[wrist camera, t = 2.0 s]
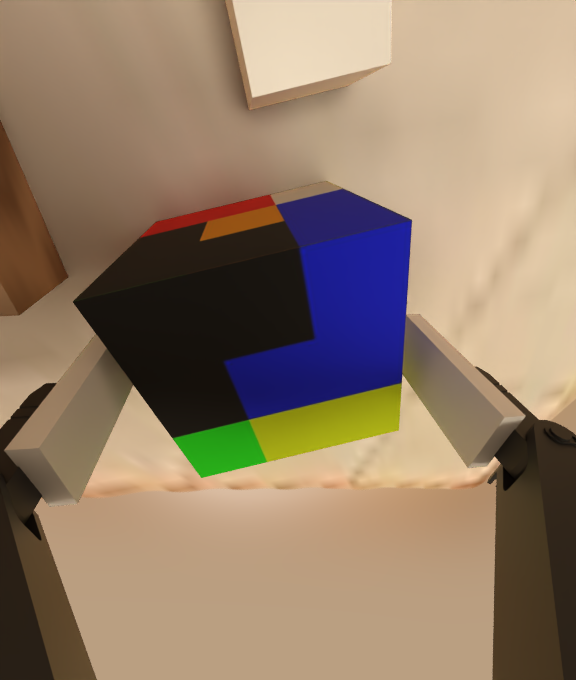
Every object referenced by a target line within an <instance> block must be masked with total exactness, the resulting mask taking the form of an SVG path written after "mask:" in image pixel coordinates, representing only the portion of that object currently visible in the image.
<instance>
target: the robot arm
mask: <svg viewBox="0 0 576 680" xmlns="http://www.w3.org/2000/svg"><path fill="white" fill-rule="evenodd" d="M402 374H403V375H404V377H405V378H406V380H407V381H408V383H409V384H410V385H411V387H412V388H413V390H414V391H415V393H416V394H417V395H418V397H419V398H420V400H421V401H422V403H423V404H424V406H425V407H426V408H427V410H428V411H429V413H430V414H431V416H432V417H433V418H434V420H435V421H436V423H437V424H438V426H439V427H440V429H441V430H442V431H443V433H444V434H445V436H446V437H447V439H448V440H449V441H450V443H451V444H452V446H453V447H454V449H455V450H456V451H457V453H458V454H459V456H460V457H461V459H462V460H463V462H464V463H465V464H466V466H467V467H468V468H474V467H485V466H487V465H488V464H489V463H490V461H491V460H492V459H493V458H494V456H495V457H496V458H497V459H498V461H499V462H500V463H501V464H500V465H499V467H498V468H497V469H496V470H495V472H494V473H493V474H492V475H491V476H490V478H489V479H488V483H489V484H491V483H492V482H493V481H494V480H495V479H497V485H496V490H497V491H496V535H495V586H494V633H493V680H576V435H575V434H574V433H573V432H571V431H570V430H568V429H567V428H565V427H563V426H561V425H559V424H557V423H554V422H551V421H548V420H538V419H537V418H536V417H535V416H534V415H533V414H532V413H531V412H530V411H529V410H528V409H527V408H525V407H524V406H523V405H522V404H521V403H520V402H519V401H518V400H517V399H516V398H515V397H514V396H513V395H511V394H510V393H508V392H507V390H506V389H505V388H504V387H503V386H502V385H499V382H497V381H496V380H495V379H494V378H493V377H492V376H491V375H490V374H488V373H487V372H485V371H483V370H482V369H480V368H478V367H474V366H473V365H472V364H471V363H470V362H469V361H468V360H467V359H466V358H465V357H464V356H463V355H462V354H461V353H460V352H458V351H457V350H456V349H455V348H454V347H453V346H452V345H451V344H450V343H449V342H448V341H447V340H446V339H445V338H444V337H443V336H442V335H441V334H440V333H439V332H438V331H437V330H435V329H434V328H433V327H432V326H431V325H430V324H429V323H428V322H427V321H426V320H425V319H424V318H423V317H422V316H421V315H420V314H409V315H406V322H405V338H404V354H403V370H402ZM132 386H133V384H132V382H131V381H130V379H129V378H128V377H127V375H126V374H125V373H124V371H123V370H122V369H121V367H120V366H119V364H118V363H117V362H116V360H115V359H114V358H113V356H112V355H111V353H110V352H109V351H108V349H107V348H106V347H105V345H104V344H103V343H102V341H101V340H100V338H99V337H98V336H97V334H96V335H95V336H94V337H93V338H92V340H91V341H90V342H89V343H88V345H87V346H86V347H85V348H84V350H83V351H82V352H81V354H80V355H79V356H78V357H77V359H76V360H75V361H74V362H73V364H72V365H71V366H70V367H69V369H68V370H67V371H66V373H65V374H64V375H63V376H62V378H61V379H60V380H59V381H58V383H46V384H44V385H43V386H42V387H40V388H39V389H37V390H36V391H34V392H33V393H31V394H30V395H29V396H28V398H27V399H26V400H25V401H24V402H23V403H22V404H21V406H20V409H17V410H16V411H15V413H14V414H13V415H12V416H11V419H10V420H8V421H7V422H6V423H5V424H4V425H3V427H2V428H1V429H0V680H97V679H96V676H95V673H94V671H93V668H92V665H91V662H90V660H89V657H88V654H87V651H86V648H85V645H84V643H83V640H82V637H81V634H80V631H79V629H78V626H77V623H76V620H75V617H74V615H73V612H72V609H71V606H70V604H69V601H68V598H67V595H66V592H65V590H64V587H63V584H62V581H61V578H60V575H59V573H58V570H57V567H56V564H55V561H54V559H53V556H52V553H51V550H50V547H49V544H48V542H47V539H46V536H45V533H44V530H43V528H42V525H41V522H40V519H39V516H38V515H37V513H36V512H35V511H34V509H35V507H36V505H37V504H38V502H39V500H40V498H41V497H42V498H43V499H44V500H45V502H46V503H47V504H48V505H49V506H50V507H52V506H63V505H74V504H78V502H79V500H80V498H81V496H82V494H83V492H84V490H85V487H86V485H87V483H88V481H89V479H90V477H91V475H92V472H93V470H94V468H95V466H96V464H97V462H98V459H99V457H100V455H101V453H102V451H103V449H104V447H105V444H106V442H107V440H108V438H109V436H110V434H111V432H112V429H113V427H114V425H115V423H116V421H117V419H118V416H119V414H120V412H121V410H122V408H123V406H124V404H125V401H126V399H127V397H128V395H129V393H130V391H131V388H132Z"/></svg>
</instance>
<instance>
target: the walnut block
mask: <svg viewBox="0 0 576 680" xmlns="http://www.w3.org/2000/svg"><path fill="white" fill-rule="evenodd" d="M66 278H68V276H67V273H66V271H65V269H64V266H63V264H62V262H61V259H60V257H59V255H58V252H57V250H56V248H55V245H54V243H53V241H52V239H51V236H50V234H49V232H48V229H47V227H46V225H45V222H44V220H43V218H42V215H41V213H40V211H39V208H38V206H37V204H36V202H35V199H34V197H33V195H32V192H31V190H30V188H29V185H28V183H27V181H26V178H25V176H24V174H23V171H22V169H21V167H20V165H19V162H18V160H17V158H16V155H15V153H14V151H13V148H12V146H11V144H10V141H9V139H8V137H7V135H6V132H5V130H4V128H3V125H2V123H1V121H0V316H12V315H20V314H21V313H23V312H24V311H25V310H27V309H28V308H29V307H30V306H32V305H33V304H34V303H36V302H37V301H38V300H39V299H41V298H42V297H43V296H45V295H46V294H47V293H48V292H50V291H51V290H52V289H54V288H55V287H56V286H57V285H59V284H60V283H61V282H63V281H64V280H65V279H66Z"/></svg>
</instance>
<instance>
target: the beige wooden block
mask: <svg viewBox="0 0 576 680" xmlns="http://www.w3.org/2000/svg"><path fill="white" fill-rule="evenodd" d="M225 2H226V6H227V11H228V15H229V20H230V25H231V29H232V34H233V38H234V43H235V48H236V52H237V57H238V61H239V66H240V71H241V75H242V80H243V84H244V89H245V94H246V98H247V103H248V107H249V110H252V109H256V108H260V107H264V106H268V105H273V104H277V103H281V102H285V101H289V100H293V99H297V98H301V97H305V96H309V95H313V94H317V93H321V92H325V91H329V90H333V89H337V88H341V87H345V86H349V85H351V84H352V83H354V82H356V81H358V80H360V79H362V78H364V77H366V76H368V75H370V74H372V73H374V72H376V71H377V70H379V69H381V68H383V67H385V66H387V65H389V64H391V32H392V0H225Z"/></svg>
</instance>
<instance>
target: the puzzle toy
mask: <svg viewBox="0 0 576 680" xmlns="http://www.w3.org/2000/svg"><path fill="white" fill-rule="evenodd" d="M411 227H412V220H411V219H409V218H407V217H404V216H402V215H400V214H398V213H396V212H393V211H391V210H389V209H387V208H385V207H382V206H380V205H378V204H376V203H374V202H372V201H369V200H367V199H365V198H363V197H361V196H358V195H356V194H354V193H352V192H350V191H347V190H345V189H343V188H341V187H339V186H336V185H334V184H332V183H330V182H328V181H324V182H320V183H316V184H312V185H308V186H303V187H299V188H295V189H291V190H287V191H283V192H278V193H274V194H270V195H266V196H262V197H258V198H254V199H249V200H245V201H241V202H237V203H233V204H229V205H225V206H220V207H216V208H212V209H208V210H204V211H200V212H195V213H191V214H187V215H183V216H179V217H175V218H171V219H166V220H162V221H158V222H156V223H155V224H154V225H152V226H151V227H150V228H149V229H148V230H147V231H146V232H145V233H144V234H143V235H142V236H141V237H140V238H139V239H138V240H137V241H136V242H135V243H134V244H133V245H132V246H131V247H129V248H128V249H127V250H126V251H125V252H124V253H123V254H122V255H121V256H120V257H119V258H118V259H117V260H116V261H115V262H114V263H113V264H112V265H111V266H110V267H109V268H107V269H106V270H105V271H104V272H103V273H102V274H101V275H100V276H99V277H98V278H97V279H96V280H95V281H94V282H93V283H92V284H91V285H90V286H89V287H88V288H87V289H86V290H84V291H83V292H82V293H81V294H80V295H79V296H78V297H77V298H76V299H75V300H74V301H73V303H74V304H75V306H76V307H77V308H78V310H79V311H80V312H81V314H82V315H83V317H84V318H85V319H86V321H87V322H88V323H89V325H90V326H91V327H92V329H93V330H94V332H95V333H96V334H97V336H98V337H99V338H100V340H101V341H102V343H103V344H104V345H105V347H106V348H107V349H108V351H109V352H110V353H111V355H112V356H113V358H114V359H115V360H116V362H117V363H118V364H119V366H120V367H121V369H122V370H123V371H124V373H125V374H126V375H127V377H128V378H129V379H130V381H131V382H132V384H133V385H134V386H135V388H136V389H137V390H138V392H139V393H140V395H141V396H142V397H143V399H144V400H145V401H146V403H147V404H148V405H149V407H150V408H151V410H152V411H153V412H154V414H155V415H156V416H157V418H158V419H159V421H160V422H161V423H162V425H163V426H164V427H165V429H166V430H167V431H168V433H169V434H170V436H171V437H172V438H173V440H174V441H175V442H176V444H177V445H178V447H179V448H180V449H181V451H182V452H183V453H184V455H185V456H186V457H187V459H188V460H189V462H190V463H191V464H192V466H193V467H194V468H195V470H196V471H197V473H198V474H199V475H200V477H201V478H203V477H207V476H211V475H215V474H219V473H224V472H228V471H232V470H236V469H240V468H244V467H249V466H253V465H257V464H261V463H265V462H269V461H273V460H278V459H282V458H286V457H290V456H294V455H298V454H302V453H307V452H311V451H315V450H319V449H323V448H327V447H331V446H336V445H340V444H344V443H348V442H352V441H356V440H361V439H365V438H369V437H373V436H377V435H381V434H385V433H390V432H394V431H398V430H399V418H400V402H401V386H402V370H403V354H404V338H405V322H406V306H407V290H408V275H409V259H410V243H411Z"/></svg>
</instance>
